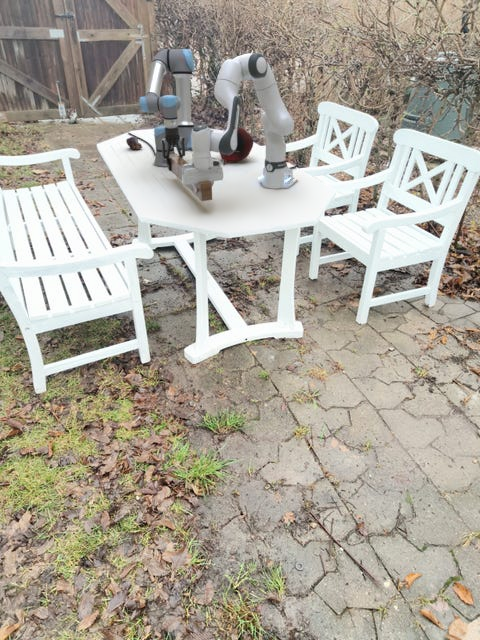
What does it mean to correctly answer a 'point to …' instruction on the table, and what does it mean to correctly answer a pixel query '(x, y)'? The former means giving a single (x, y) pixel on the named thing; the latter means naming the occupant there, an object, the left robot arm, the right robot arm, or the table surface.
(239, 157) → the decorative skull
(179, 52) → the left robot arm
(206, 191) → the bar
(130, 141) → the rock
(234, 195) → the table surface
